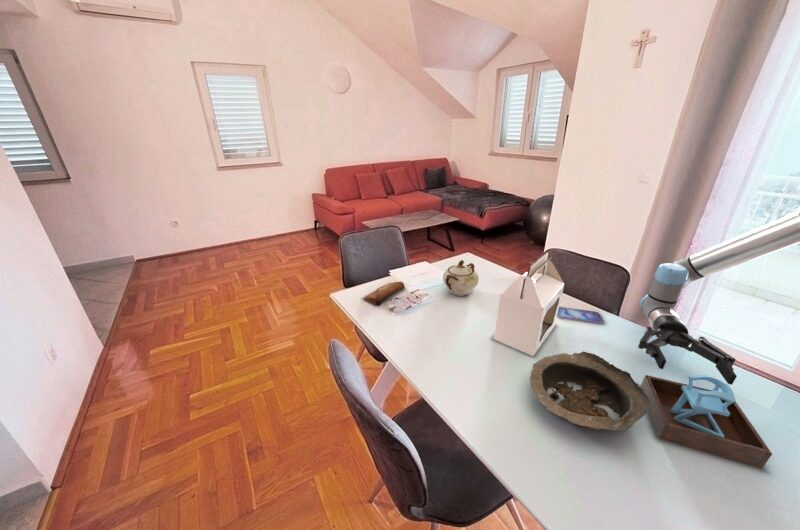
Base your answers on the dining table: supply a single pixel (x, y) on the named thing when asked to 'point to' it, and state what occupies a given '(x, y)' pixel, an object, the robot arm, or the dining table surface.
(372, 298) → the sunglasses case
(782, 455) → the dining table surface
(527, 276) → the gable box
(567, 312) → the smartphone
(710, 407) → the chair
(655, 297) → the robot arm
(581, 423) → the stone bowl
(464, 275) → the sugar bowl
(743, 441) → the wooden tray
